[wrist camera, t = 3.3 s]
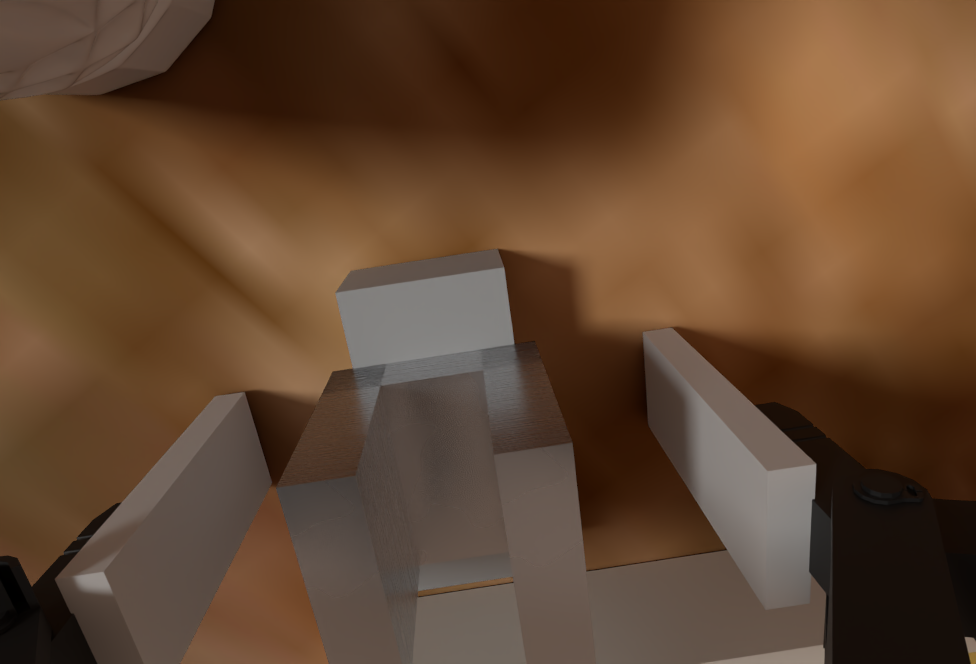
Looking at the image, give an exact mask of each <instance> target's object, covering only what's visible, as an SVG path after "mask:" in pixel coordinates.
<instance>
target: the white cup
mask: <svg viewBox="0 0 976 664" xmlns="http://www.w3.org/2000/svg"><path fill="white" fill-rule="evenodd" d="M214 3H215V0H0V100H8V99H16V98H23V97H30V96H37V95H42V94H47V95H102V94H105V93H108V92H110V91H113V90H116V89H119V88H122V87H124V86H127V85H130V84H133V83H136V82H138V81H141V80H144V79H147V78H150V77H152V76H155V75H158V74H161V73H164V72H166V71H167V70H168V69H169V68H170V66H171V65H172V64H173V63H174V62H175V61H176V59H177V58H178V57H179V56H180V55H181V53H182V52H183V51H184V50H185V49H186V47H187V46H188V45H189V44H190V43H191V41H192V40H193V39H194V38H195V37H196V35H197V34H198V33H199V32H200V31H201V29H202V28H203V27H204V26H205V25H206V23H207V22H208V21H209V20H210V18H211V16H212V12H213V7H214Z"/></svg>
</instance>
